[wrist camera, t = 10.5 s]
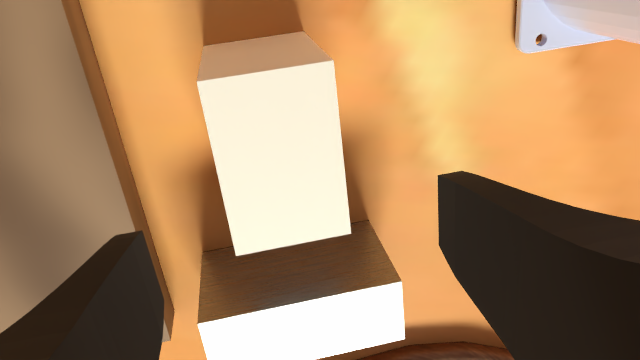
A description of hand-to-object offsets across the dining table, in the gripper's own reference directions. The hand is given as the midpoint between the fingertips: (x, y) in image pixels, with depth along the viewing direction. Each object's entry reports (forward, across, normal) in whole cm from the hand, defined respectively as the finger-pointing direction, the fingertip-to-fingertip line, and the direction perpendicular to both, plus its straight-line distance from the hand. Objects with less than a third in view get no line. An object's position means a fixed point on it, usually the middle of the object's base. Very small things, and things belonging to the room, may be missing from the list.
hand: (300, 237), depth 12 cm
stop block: (+10, 0, +8) cm, 13 cm away
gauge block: (+10, 0, 0) cm, 10 cm away
